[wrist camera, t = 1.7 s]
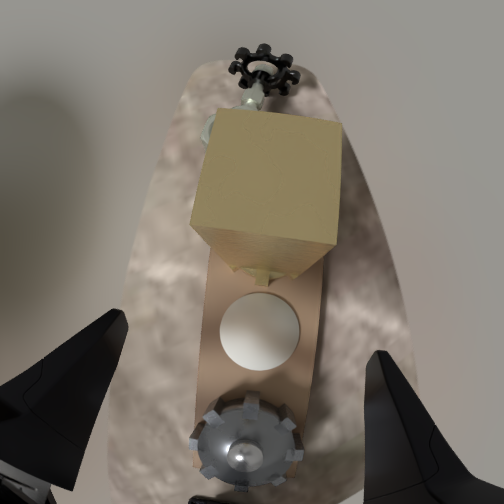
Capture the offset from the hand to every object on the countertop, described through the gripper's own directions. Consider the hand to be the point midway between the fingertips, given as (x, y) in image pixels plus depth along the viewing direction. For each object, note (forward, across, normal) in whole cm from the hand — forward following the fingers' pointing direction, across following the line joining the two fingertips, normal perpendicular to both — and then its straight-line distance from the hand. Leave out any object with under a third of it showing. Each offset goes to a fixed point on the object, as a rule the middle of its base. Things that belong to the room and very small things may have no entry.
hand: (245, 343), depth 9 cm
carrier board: (+8, 0, +10) cm, 13 cm away
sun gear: (+2, -1, +15) cm, 15 cm away
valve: (+20, +3, -2) cm, 21 cm away
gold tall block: (+13, 0, +4) cm, 13 cm away
